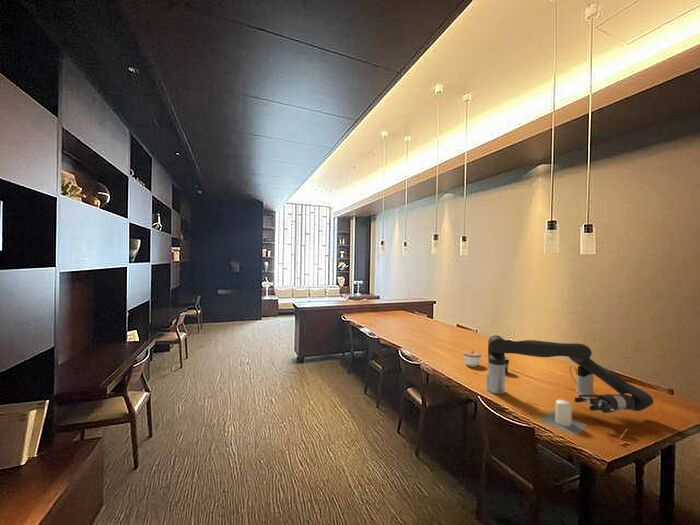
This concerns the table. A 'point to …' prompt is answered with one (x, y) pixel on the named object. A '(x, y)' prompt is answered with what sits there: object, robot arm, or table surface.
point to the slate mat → (573, 429)
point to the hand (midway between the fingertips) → (582, 403)
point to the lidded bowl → (472, 358)
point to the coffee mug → (506, 364)
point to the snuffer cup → (563, 413)
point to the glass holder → (584, 381)
